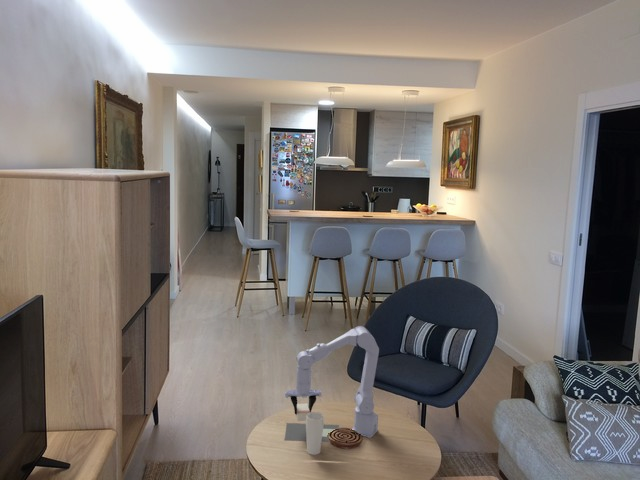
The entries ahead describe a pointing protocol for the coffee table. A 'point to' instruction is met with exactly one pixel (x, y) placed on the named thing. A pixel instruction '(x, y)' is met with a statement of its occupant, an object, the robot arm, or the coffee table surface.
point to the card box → (302, 412)
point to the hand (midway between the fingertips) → (302, 413)
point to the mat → (299, 432)
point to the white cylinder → (314, 432)
